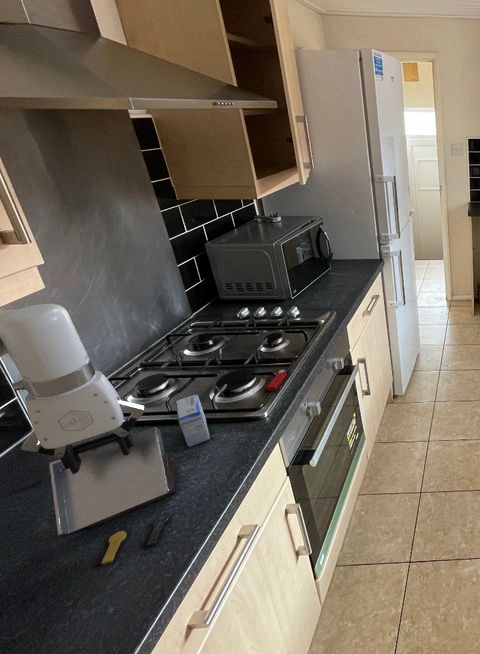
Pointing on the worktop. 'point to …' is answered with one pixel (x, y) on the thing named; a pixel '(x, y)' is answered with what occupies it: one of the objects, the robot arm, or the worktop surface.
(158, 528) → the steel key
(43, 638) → the worktop surface
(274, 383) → the lighter
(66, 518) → the steel dish
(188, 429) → the medicine box
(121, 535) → the brass key
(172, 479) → the stand
